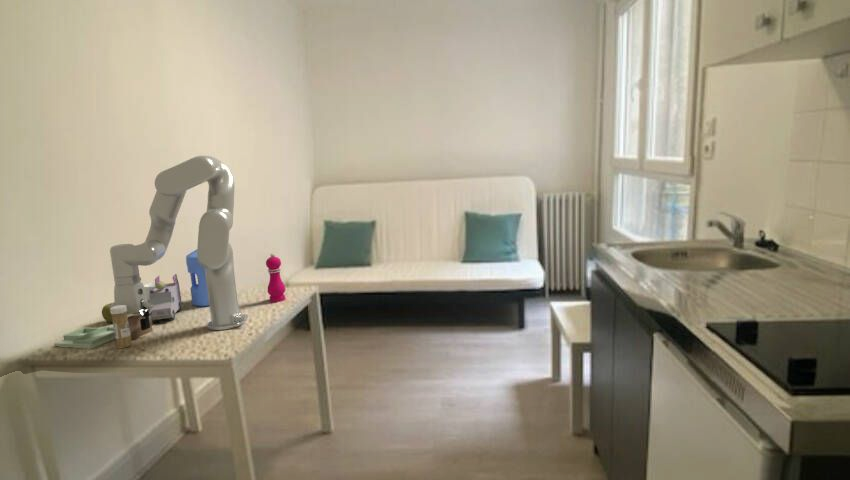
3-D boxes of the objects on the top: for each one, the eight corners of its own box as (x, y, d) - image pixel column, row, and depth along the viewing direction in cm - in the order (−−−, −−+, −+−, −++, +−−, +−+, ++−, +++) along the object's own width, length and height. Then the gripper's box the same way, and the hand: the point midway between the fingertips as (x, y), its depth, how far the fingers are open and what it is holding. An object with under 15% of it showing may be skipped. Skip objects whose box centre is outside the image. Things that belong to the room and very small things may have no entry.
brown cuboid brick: (152, 331, 178) (149, 312, 177) (129, 341, 169) (126, 321, 168) (143, 331, 179) (140, 312, 178) (120, 341, 170) (116, 321, 169)
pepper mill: (273, 297, 213) (268, 251, 210) (289, 297, 212) (284, 251, 209) (265, 302, 206) (260, 255, 203) (282, 302, 205) (276, 254, 202)
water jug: (235, 295, 222) (227, 232, 217) (226, 305, 207) (218, 238, 202) (198, 298, 220) (190, 235, 215) (187, 308, 205) (177, 241, 200)
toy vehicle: (148, 325, 185) (141, 286, 183) (160, 311, 204) (155, 275, 201) (175, 322, 187) (169, 283, 185) (185, 308, 206) (180, 272, 204)
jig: (128, 332, 178) (127, 325, 178) (91, 348, 164) (89, 340, 163) (94, 331, 182) (93, 324, 182) (54, 346, 168) (53, 339, 167)
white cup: (169, 307, 208) (165, 284, 206) (148, 311, 203) (144, 288, 202) (166, 303, 214) (163, 281, 213) (146, 307, 210) (142, 284, 208)
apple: (100, 326, 188) (97, 308, 187) (107, 320, 195) (104, 302, 194) (123, 323, 190) (120, 305, 188) (129, 317, 197) (126, 299, 196)
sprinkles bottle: (131, 346, 163) (124, 307, 161) (115, 349, 161) (108, 309, 159) (133, 342, 167) (127, 303, 165) (117, 345, 166) (111, 306, 163)
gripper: (156, 278, 172) (163, 325, 175) (116, 277, 177) (123, 323, 179) (139, 283, 165) (146, 333, 168) (97, 282, 169) (105, 330, 172)
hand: (134, 328), depth 173 cm, fingers open, 9 cm apart
